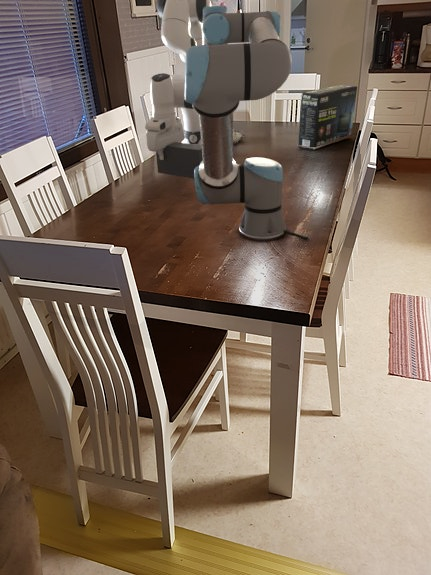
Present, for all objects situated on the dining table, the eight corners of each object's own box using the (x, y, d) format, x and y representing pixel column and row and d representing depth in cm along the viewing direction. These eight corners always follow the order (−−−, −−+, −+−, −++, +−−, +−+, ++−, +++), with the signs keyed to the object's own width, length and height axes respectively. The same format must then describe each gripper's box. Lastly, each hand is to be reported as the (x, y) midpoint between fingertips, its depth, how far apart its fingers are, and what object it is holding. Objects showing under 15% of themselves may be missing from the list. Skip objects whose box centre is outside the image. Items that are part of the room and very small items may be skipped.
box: (208, 175, 181) (207, 146, 175) (200, 179, 176) (199, 150, 170) (166, 168, 190) (163, 140, 184) (158, 172, 185) (155, 144, 179)
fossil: (235, 139, 243) (216, 121, 246) (225, 155, 249) (206, 138, 252) (251, 137, 256) (233, 120, 260) (241, 153, 263) (223, 137, 266)
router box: (314, 151, 231) (318, 94, 217) (296, 148, 237) (299, 92, 224) (352, 138, 251) (358, 85, 238) (335, 135, 258) (340, 83, 245)
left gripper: (173, 114, 184) (176, 149, 192) (141, 126, 170) (146, 163, 177) (186, 116, 182) (188, 151, 189) (155, 127, 167) (159, 165, 174)
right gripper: (225, 59, 156) (226, 123, 167) (185, 67, 137) (189, 139, 148) (245, 59, 152) (245, 125, 163) (206, 67, 134) (209, 141, 145)
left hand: (167, 156), depth 183 cm, fingers closed on box, 6 cm apart
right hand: (218, 132), depth 156 cm, fingers open, 13 cm apart
